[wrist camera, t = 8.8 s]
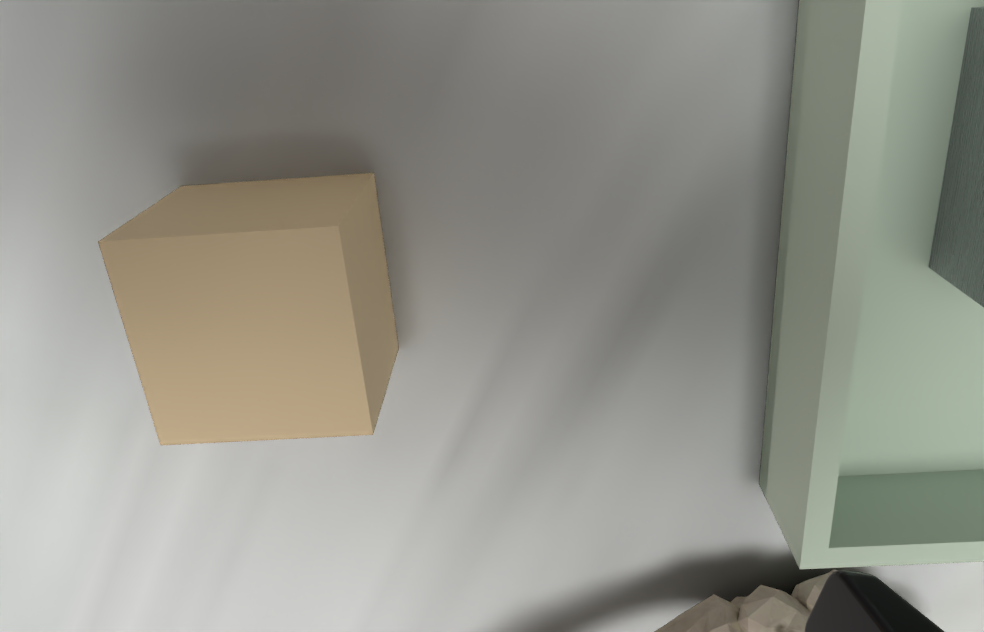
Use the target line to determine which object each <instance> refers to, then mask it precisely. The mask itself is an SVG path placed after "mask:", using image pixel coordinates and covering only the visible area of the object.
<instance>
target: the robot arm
mask: <svg viewBox="0 0 984 632" xmlns="http://www.w3.org/2000/svg"><path fill="white" fill-rule="evenodd" d="M805 632H944V631H943V630H942V629H940V628H939V627H938V626H937V625H935V624H934V623H933V622H932V621H930V620H929V619H928V618H927V617H925V616H924V615H923V614H922V613H920V612H919V611H918V610H917V609H915V608H914V607H913V606H912V605H910V604H909V603H908V602H907V601H905V600H904V599H903V598H902V597H900V596H899V595H898V594H897V593H895V592H894V591H893V590H892V589H890V588H889V587H888V586H887V585H885V584H884V583H883V582H882V581H880V580H879V579H878V578H876V577H875V576H873V575H870V574H867V573H860V572H853V571H846V570H837V571H834V572H833V573H831V574H830V575H829V576H828V578H827V580H826V582H825V584H824V586H823V588H822V590H821V592H820V594H819V596H818V598H817V600H816V603H815V605H814V607H813V609H812V611H811V613H810V615H809V617H808V619H807V622H806V626H805Z"/></svg>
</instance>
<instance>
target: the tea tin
mask: <svg viewBox="0 0 984 632" xmlns="http://www.w3.org/2000/svg"><path fill="white" fill-rule="evenodd" d="M929 268H930V269H931V270H933V271H934V272H935V273H937V274H938V275H940V276H941V277H942V278H944V279H945V280H946V281H948V282H949V283H951V284H952V285H953V286H955V287H956V288H957V289H959V290H960V291H962V292H963V293H964V294H966V295H967V296H969V297H970V298H971V299H973V300H974V301H975V302H977V303H978V304H980V305H981V306H982V307H984V6H983V7H972V8H971V12H970V18H969V24H968V31H967V37H966V43H965V49H964V55H963V61H962V67H961V73H960V79H959V85H958V91H957V97H956V103H955V109H954V115H953V121H952V127H951V133H950V140H949V146H948V152H947V158H946V164H945V170H944V176H943V182H942V188H941V194H940V200H939V206H938V212H937V218H936V224H935V230H934V236H933V242H932V248H931V255H930V261H929Z"/></svg>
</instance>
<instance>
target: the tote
mask: <svg viewBox="0 0 984 632" xmlns="http://www.w3.org/2000/svg"><path fill="white" fill-rule="evenodd" d="M983 6H984V0H799V9H798V21H797V34H796V46H795V58H794V70H793V82H792V94H791V106H790V118H789V130H788V142H787V154H786V166H785V178H784V190H783V203H782V215H781V227H780V239H779V251H778V263H777V275H776V287H775V299H774V311H773V323H772V335H771V347H770V359H769V372H768V384H767V396H766V408H765V420H764V432H763V444H762V456H761V468H760V480H759V485H760V487H761V489H762V491H763V493H764V496H765V498H766V500H767V502H768V504H769V506H770V508H771V510H772V512H773V514H774V517H775V519H776V521H777V523H778V525H779V527H780V529H781V531H782V533H783V535H784V538H785V540H786V542H787V544H788V546H789V548H790V550H791V552H792V554H793V556H794V558H795V561H796V563H797V565H798V567H799V569H819V568H843V567H866V566H890V565H913V564H937V563H960V562H984V307H982V306H981V305H980V304H978V303H977V302H975V301H974V300H973V299H971V298H970V297H969V296H967V295H966V294H964V293H963V292H962V291H960V290H959V289H957V288H956V287H955V286H953V285H952V284H951V283H949V282H948V281H946V280H945V279H944V278H942V277H941V276H940V275H938V274H937V273H935V272H934V271H933V270H931V269H930V268H929V261H930V255H931V248H932V242H933V236H934V230H935V224H936V218H937V212H938V206H939V200H940V194H941V188H942V182H943V176H944V170H945V164H946V158H947V152H948V146H949V140H950V133H951V127H952V121H953V115H954V109H955V103H956V97H957V91H958V85H959V79H960V73H961V67H962V61H963V55H964V49H965V43H966V37H967V31H968V24H969V18H970V12H971V8H972V7H983Z"/></svg>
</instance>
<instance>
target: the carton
mask: <svg viewBox="0 0 984 632" xmlns="http://www.w3.org/2000/svg"><path fill="white" fill-rule="evenodd" d="M98 243H99V246H100V250H101V253H102V256H103V259H104V263H105V266H106V269H107V272H108V276H109V279H110V282H111V285H112V289H113V292H114V295H115V299H116V302H117V305H118V308H119V312H120V315H121V318H122V321H123V325H124V328H125V331H126V334H127V338H128V341H129V344H130V347H131V351H132V354H133V357H134V360H135V364H136V367H137V370H138V373H139V377H140V380H141V383H142V387H143V390H144V393H145V396H146V400H147V403H148V406H149V409H150V413H151V416H152V419H153V422H154V426H155V429H156V432H157V435H158V439H159V442H160V445H176V444H196V443H216V442H236V441H257V440H277V439H297V438H317V437H337V436H357V435H373V433H374V430H375V427H376V423H377V420H378V417H379V413H380V410H381V406H382V403H383V400H384V396H385V393H386V390H387V386H388V383H389V380H390V376H391V373H392V369H393V366H394V363H395V359H396V356H397V353H398V349H399V346H398V339H397V332H396V325H395V318H394V311H393V304H392V297H391V289H390V282H389V275H388V268H387V261H386V254H385V247H384V240H383V233H382V226H381V219H380V212H379V205H378V198H377V191H376V184H375V176H374V173H362V174H347V175H333V176H318V177H304V178H289V179H275V180H260V181H246V182H231V183H217V184H203V185H188V186H181V187H179V188H178V189H176V190H175V191H173V192H172V193H170V194H169V195H167V196H166V197H164V198H163V199H161V200H160V201H158V202H157V203H155V204H154V205H152V206H151V207H149V208H148V209H146V210H145V211H143V212H142V213H140V214H139V215H137V216H136V217H134V218H133V219H131V220H130V221H128V222H127V223H125V224H124V225H122V226H121V227H119V228H118V229H116V230H115V231H113V232H112V233H110V234H109V235H107V236H106V237H104V238H103V239H101V240H100V241H98Z"/></svg>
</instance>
